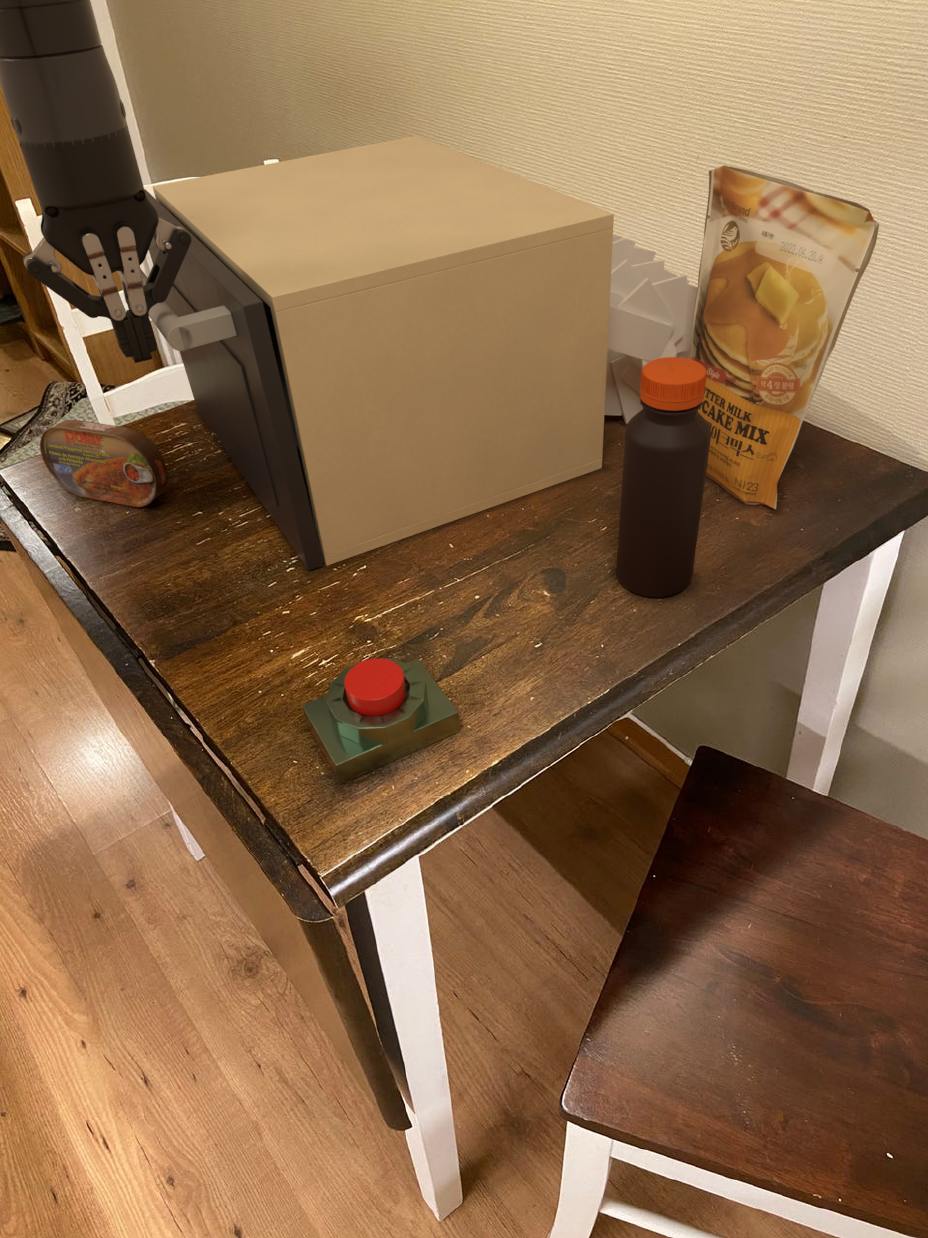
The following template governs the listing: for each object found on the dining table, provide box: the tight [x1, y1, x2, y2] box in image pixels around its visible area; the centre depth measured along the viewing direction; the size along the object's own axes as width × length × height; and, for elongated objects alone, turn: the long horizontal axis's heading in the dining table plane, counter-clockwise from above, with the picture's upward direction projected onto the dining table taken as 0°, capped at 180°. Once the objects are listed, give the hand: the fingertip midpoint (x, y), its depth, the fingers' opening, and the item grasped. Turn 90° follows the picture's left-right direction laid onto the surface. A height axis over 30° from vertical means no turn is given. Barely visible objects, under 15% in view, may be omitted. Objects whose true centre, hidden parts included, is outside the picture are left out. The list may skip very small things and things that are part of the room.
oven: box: [152, 135, 615, 567], centre depth 95 cm, size 32×40×26 cm
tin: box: [39, 419, 169, 508], centre depth 94 cm, size 15×3×8 cm, turn 68°
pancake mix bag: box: [691, 165, 880, 510], centre depth 84 cm, size 7×19×28 cm, turn 24°
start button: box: [344, 658, 406, 716], centre depth 65 cm, size 4×4×2 cm
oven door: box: [116, 188, 324, 571], centre depth 89 cm, size 7×40×26 cm, turn 28°
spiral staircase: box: [604, 233, 698, 425], centre depth 103 cm, size 18×18×25 cm
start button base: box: [301, 657, 461, 785], centre depth 67 cm, size 10×7×4 cm
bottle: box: [615, 357, 711, 598], centre depth 74 cm, size 7×7×20 cm
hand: (141, 357), depth 74 cm, fingers closed
